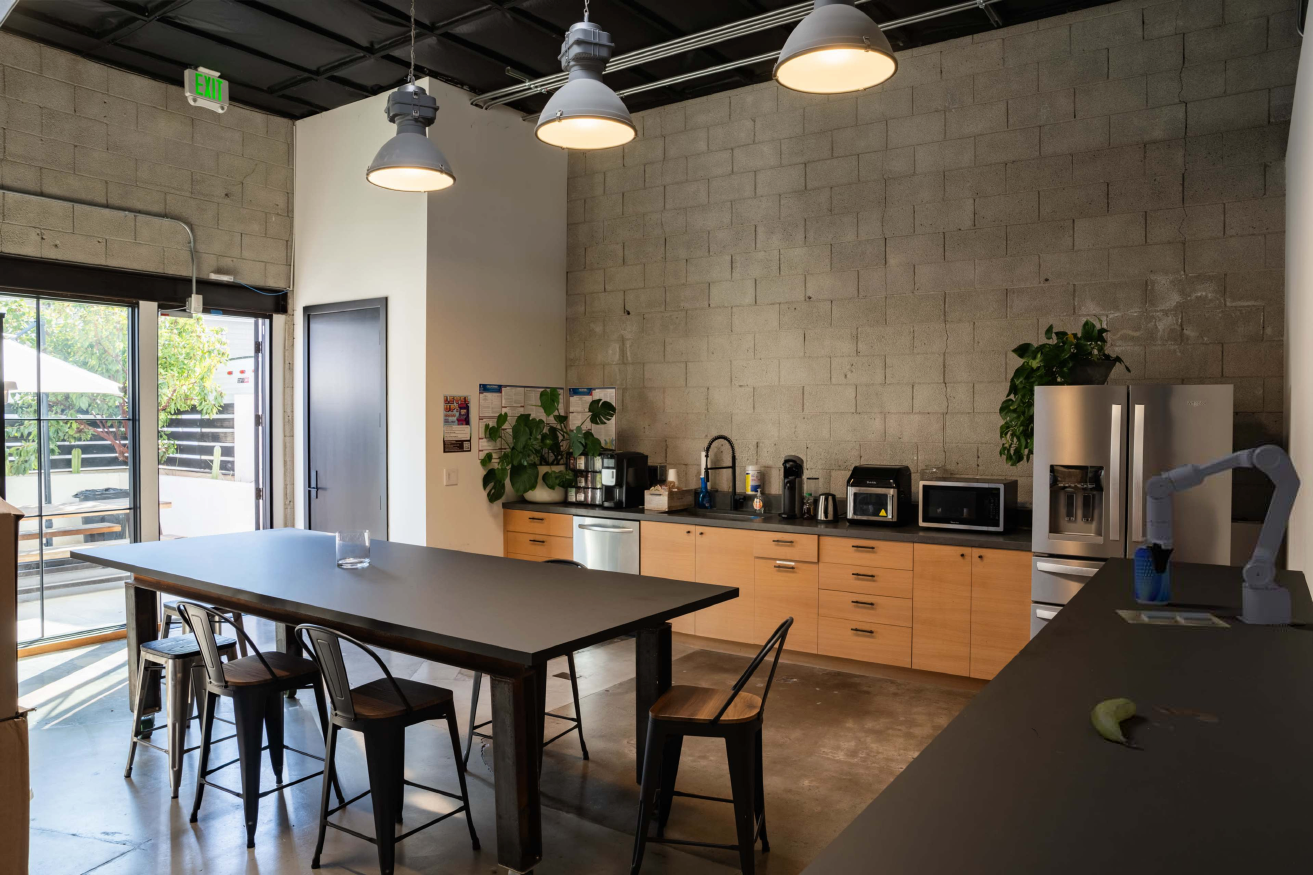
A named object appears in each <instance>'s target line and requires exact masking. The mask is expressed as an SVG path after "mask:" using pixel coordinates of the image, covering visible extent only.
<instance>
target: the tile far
mask: <svg viewBox="0 0 1313 875" xmlns="http://www.w3.org/2000/svg"><path fill="white" fill-rule="evenodd" d="M1141 611H1142V617H1143V618H1144V619H1145V620H1146V621H1148V622H1167V623H1175V616H1173V615H1172V614H1170V613H1169V612H1170V611H1155V610H1154V611H1153V610H1152V611H1151V610H1141Z"/></svg>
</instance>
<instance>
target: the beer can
mask: <svg viewBox="0 0 1313 875" xmlns="http://www.w3.org/2000/svg"><path fill="white" fill-rule="evenodd" d="M1152 545H1153V544H1141V545H1140V544H1139V545H1138V548H1137V549H1136V551H1135V552H1134V599H1135V600H1136V601H1137V603H1138V604H1143V605H1148V606H1150V605H1151V606H1166V605H1168V604H1169V603H1170V602H1171V571H1170V569H1171V568H1170V564H1171V561H1170V557H1171V556H1170V557H1169V560H1168V564H1167V568H1166V572H1165V574H1162V573H1155V571H1154V567H1153V563H1152V559H1151V556H1150V554H1149V552H1148V550H1147V548H1146V546H1152Z"/></svg>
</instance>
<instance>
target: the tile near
mask: <svg viewBox="0 0 1313 875" xmlns="http://www.w3.org/2000/svg"><path fill="white" fill-rule="evenodd" d="M1204 613H1205V612H1182V611H1181V612H1179V611H1178V612H1177V619H1179V620H1180V621H1182V622H1183V623H1191V624H1212V618H1211V617H1209V616H1207V615H1206V614H1204Z"/></svg>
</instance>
